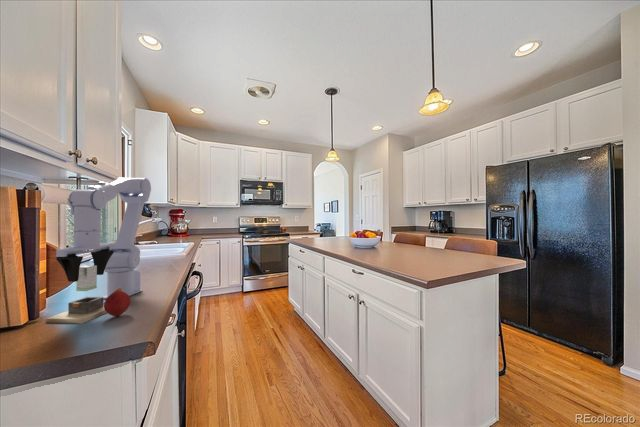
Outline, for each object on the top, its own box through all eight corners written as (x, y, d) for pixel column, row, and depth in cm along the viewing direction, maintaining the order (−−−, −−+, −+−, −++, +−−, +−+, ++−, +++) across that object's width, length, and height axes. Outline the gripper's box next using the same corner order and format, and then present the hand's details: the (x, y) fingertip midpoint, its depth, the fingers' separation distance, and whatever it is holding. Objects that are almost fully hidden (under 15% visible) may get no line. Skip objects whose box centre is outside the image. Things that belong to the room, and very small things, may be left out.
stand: (90, 305, 78) (90, 293, 78) (120, 306, 77) (120, 293, 77) (46, 322, 66) (46, 307, 66) (81, 323, 65) (82, 308, 65)
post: (86, 287, 73) (87, 265, 73) (96, 288, 73) (96, 265, 73) (76, 290, 70) (76, 267, 70) (86, 291, 70) (86, 267, 70)
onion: (115, 321, 66) (115, 291, 66) (98, 319, 67) (98, 290, 67) (135, 313, 72) (135, 285, 72) (119, 311, 73) (119, 284, 73)
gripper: (97, 229, 79) (97, 271, 79) (45, 232, 65) (44, 284, 64) (119, 229, 79) (118, 272, 79) (71, 232, 64) (70, 285, 64)
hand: (86, 277), depth 72 cm, fingers open, 7 cm apart
